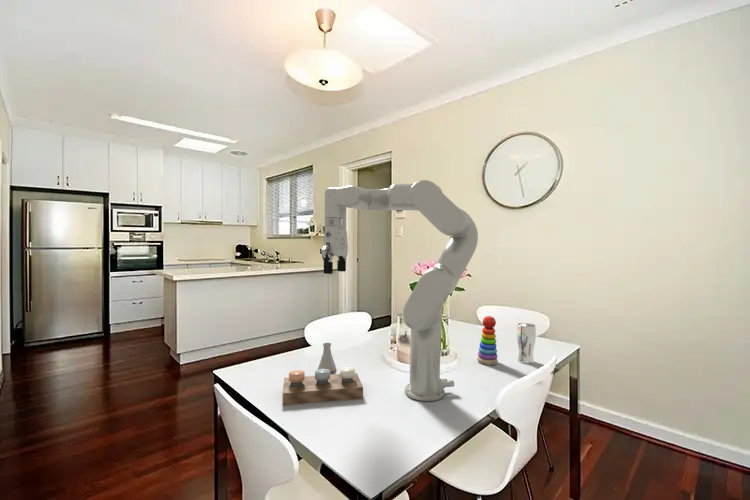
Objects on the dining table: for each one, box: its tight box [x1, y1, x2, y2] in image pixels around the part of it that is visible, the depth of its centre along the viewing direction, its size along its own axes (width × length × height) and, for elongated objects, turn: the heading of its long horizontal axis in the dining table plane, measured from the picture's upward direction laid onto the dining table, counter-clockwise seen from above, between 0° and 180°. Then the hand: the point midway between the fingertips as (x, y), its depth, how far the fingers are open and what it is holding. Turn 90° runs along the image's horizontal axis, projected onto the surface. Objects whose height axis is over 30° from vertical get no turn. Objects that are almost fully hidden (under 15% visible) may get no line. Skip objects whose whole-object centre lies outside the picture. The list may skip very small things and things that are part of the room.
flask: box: [317, 342, 337, 374], centre depth 134 cm, size 7×7×10 cm
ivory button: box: [339, 366, 356, 383], centre depth 116 cm, size 5×5×6 cm
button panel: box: [282, 372, 364, 406], centre depth 114 cm, size 24×12×4 cm, turn 102°
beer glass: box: [516, 322, 537, 365], centre depth 146 cm, size 7×7×15 cm
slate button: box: [314, 368, 331, 385], centre depth 114 cm, size 5×5×6 cm
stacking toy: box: [476, 315, 499, 366], centre depth 145 cm, size 8×8×19 cm
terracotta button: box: [288, 369, 306, 387], centre depth 113 cm, size 5×5×6 cm
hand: (335, 272), depth 126 cm, fingers open, 9 cm apart
